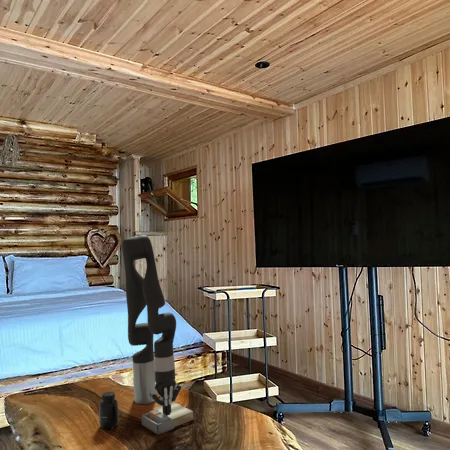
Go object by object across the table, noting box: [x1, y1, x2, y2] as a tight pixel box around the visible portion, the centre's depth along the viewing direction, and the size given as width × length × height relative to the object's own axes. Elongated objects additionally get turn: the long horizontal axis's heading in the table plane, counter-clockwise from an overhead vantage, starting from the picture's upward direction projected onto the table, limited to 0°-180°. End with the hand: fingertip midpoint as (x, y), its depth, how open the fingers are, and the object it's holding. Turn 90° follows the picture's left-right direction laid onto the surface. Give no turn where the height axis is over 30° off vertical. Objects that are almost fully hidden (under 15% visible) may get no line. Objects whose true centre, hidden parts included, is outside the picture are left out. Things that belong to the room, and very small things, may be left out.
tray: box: [140, 410, 175, 435], centre depth 154 cm, size 12×7×4 cm, turn 40°
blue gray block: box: [156, 413, 168, 424], centre depth 152 cm, size 4×4×2 cm
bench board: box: [152, 401, 194, 428], centre depth 161 cm, size 14×9×3 cm, turn 40°
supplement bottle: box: [98, 391, 119, 429], centre depth 157 cm, size 7×7×12 cm
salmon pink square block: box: [148, 409, 161, 423], centre depth 156 cm, size 4×4×2 cm
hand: (167, 414), depth 154 cm, fingers closed
